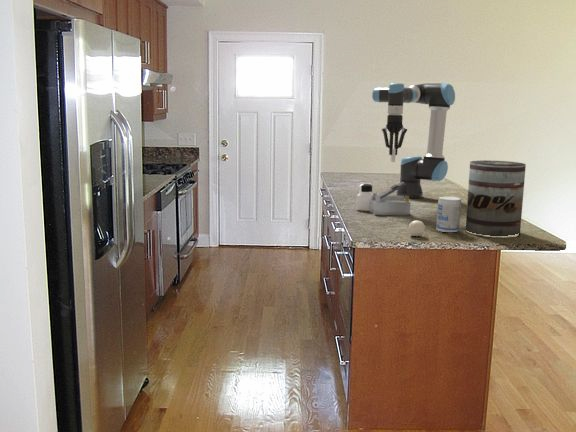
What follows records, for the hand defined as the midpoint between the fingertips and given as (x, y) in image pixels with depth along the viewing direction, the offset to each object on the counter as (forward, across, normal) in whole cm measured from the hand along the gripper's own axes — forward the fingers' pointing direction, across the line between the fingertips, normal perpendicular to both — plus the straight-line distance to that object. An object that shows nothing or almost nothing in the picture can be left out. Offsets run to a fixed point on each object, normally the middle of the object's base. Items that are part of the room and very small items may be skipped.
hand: (392, 161), depth 329 cm
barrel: (+25, +29, -58) cm, 70 cm away
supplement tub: (+25, +10, -56) cm, 62 cm away
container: (+25, -14, 0) cm, 28 cm away
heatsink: (+25, -4, -11) cm, 27 cm away
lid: (+14, -3, -11) cm, 18 cm away
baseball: (+25, -7, -65) cm, 70 cm away
